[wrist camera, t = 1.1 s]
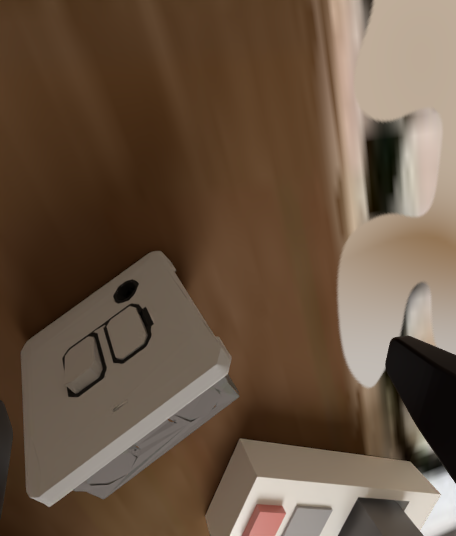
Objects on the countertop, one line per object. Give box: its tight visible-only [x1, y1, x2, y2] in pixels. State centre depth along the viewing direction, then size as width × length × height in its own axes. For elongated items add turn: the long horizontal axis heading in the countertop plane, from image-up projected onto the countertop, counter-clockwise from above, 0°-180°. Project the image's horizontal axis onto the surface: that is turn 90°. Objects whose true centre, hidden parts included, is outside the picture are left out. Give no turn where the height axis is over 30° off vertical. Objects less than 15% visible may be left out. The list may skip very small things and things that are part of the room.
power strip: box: [205, 438, 441, 536], centre depth 30 cm, size 7×17×4 cm, turn 68°
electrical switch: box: [21, 251, 239, 507], centre depth 19 cm, size 9×5×9 cm, turn 123°
